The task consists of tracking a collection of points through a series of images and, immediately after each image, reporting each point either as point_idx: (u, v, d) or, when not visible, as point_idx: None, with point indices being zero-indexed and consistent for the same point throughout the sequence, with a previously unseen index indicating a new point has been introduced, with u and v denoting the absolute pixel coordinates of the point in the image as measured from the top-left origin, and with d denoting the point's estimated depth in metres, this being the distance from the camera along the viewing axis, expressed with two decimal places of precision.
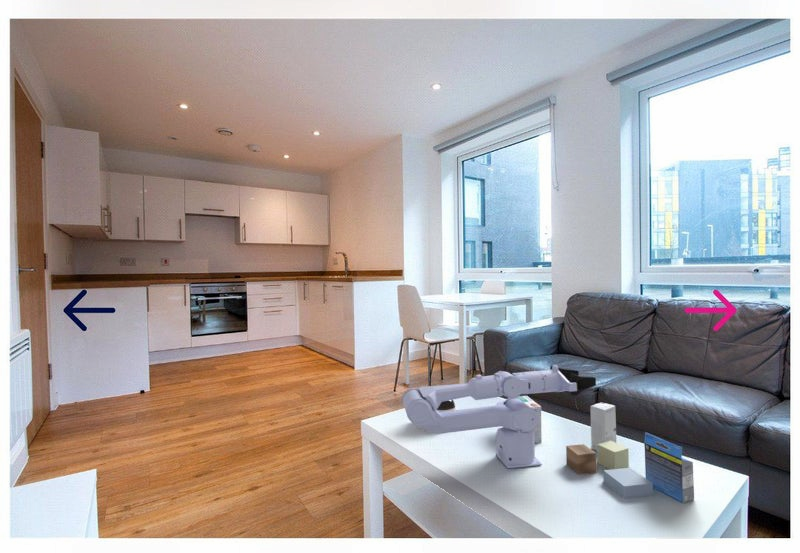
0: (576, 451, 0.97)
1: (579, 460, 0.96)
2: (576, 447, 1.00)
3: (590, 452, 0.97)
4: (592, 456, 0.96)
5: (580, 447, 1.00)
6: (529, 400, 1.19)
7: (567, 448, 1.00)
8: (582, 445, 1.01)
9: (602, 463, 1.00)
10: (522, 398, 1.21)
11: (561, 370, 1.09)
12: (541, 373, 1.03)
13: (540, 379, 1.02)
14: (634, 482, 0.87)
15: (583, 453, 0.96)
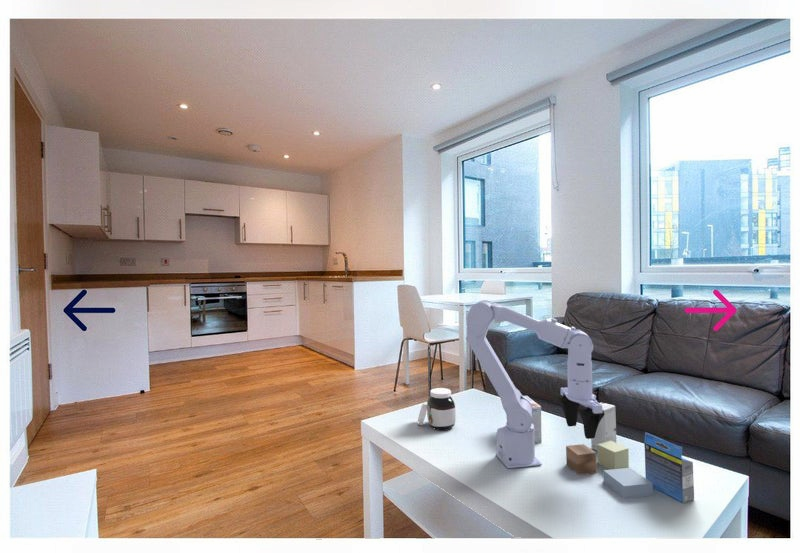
0: (576, 451, 0.97)
1: (579, 460, 0.96)
2: (576, 447, 1.00)
3: (590, 452, 0.97)
4: (592, 456, 0.96)
5: (580, 447, 1.00)
6: (529, 400, 1.19)
7: (567, 448, 1.00)
8: (582, 445, 1.01)
9: (602, 463, 1.00)
10: None
11: (577, 406, 1.02)
12: None
13: (586, 377, 0.96)
14: (633, 482, 0.87)
15: (583, 453, 0.96)
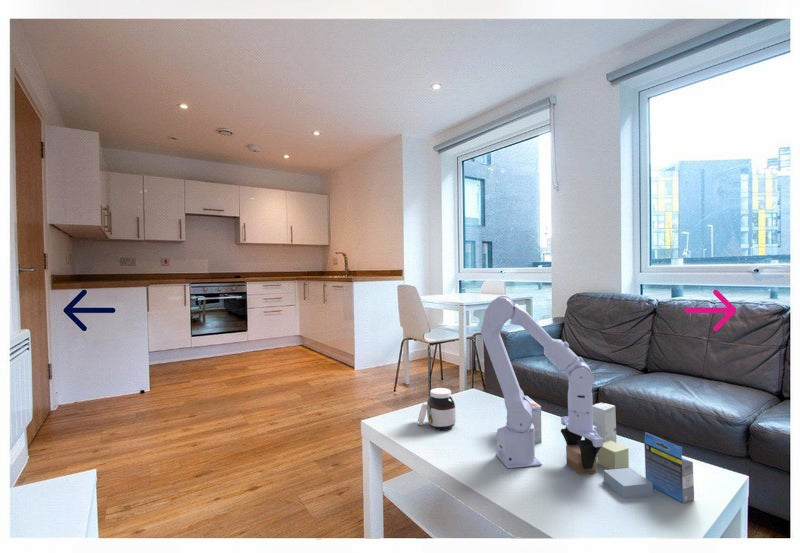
0: (576, 451, 0.97)
1: (579, 460, 0.96)
2: (576, 446, 1.00)
3: None
4: None
5: None
6: (529, 400, 1.19)
7: (567, 448, 1.00)
8: None
9: (602, 463, 1.00)
10: None
11: (579, 438, 1.01)
12: None
13: (587, 409, 0.96)
14: (633, 482, 0.87)
15: None
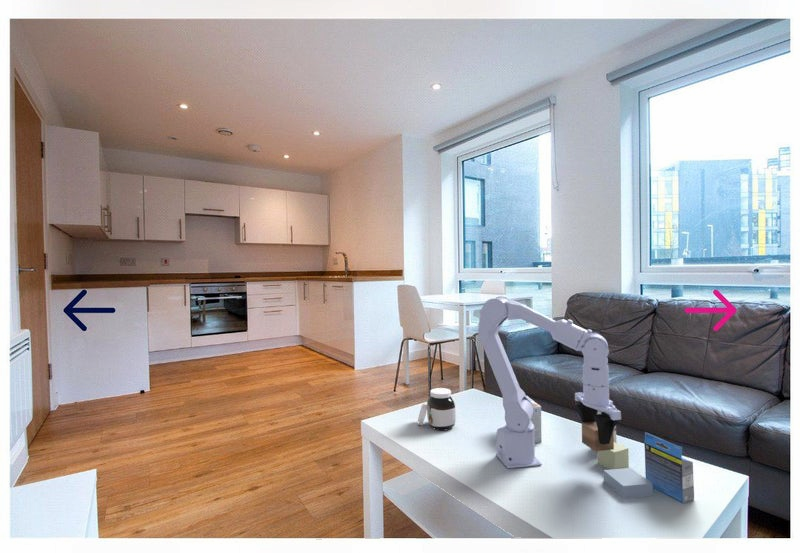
0: (592, 427, 0.94)
1: (596, 436, 0.92)
2: (592, 423, 0.96)
3: None
4: None
5: None
6: None
7: (583, 425, 0.97)
8: None
9: (602, 463, 1.00)
10: None
11: (595, 413, 0.98)
12: None
13: (602, 383, 0.92)
14: (633, 482, 0.87)
15: None
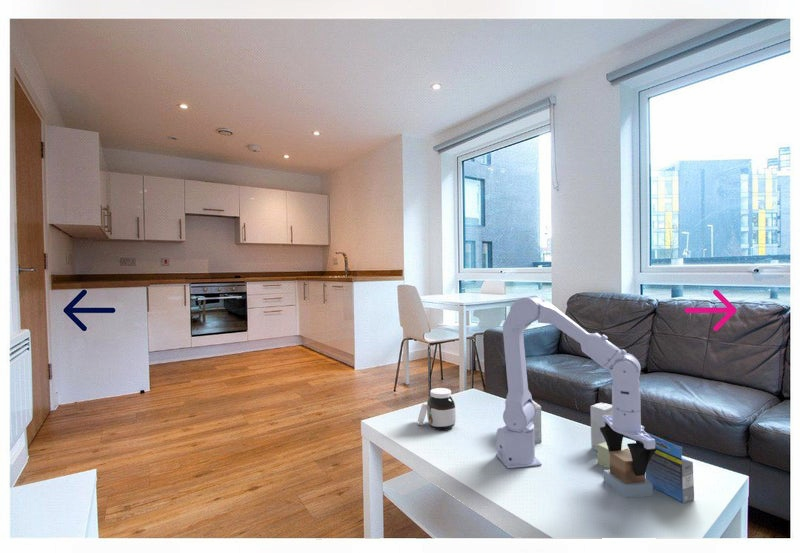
0: (622, 457, 0.88)
1: (626, 467, 0.86)
2: (621, 453, 0.90)
3: None
4: None
5: (625, 452, 0.90)
6: None
7: (611, 454, 0.91)
8: (627, 451, 0.91)
9: (602, 463, 1.00)
10: None
11: (621, 437, 0.93)
12: None
13: (632, 408, 0.86)
14: None
15: (631, 460, 0.87)
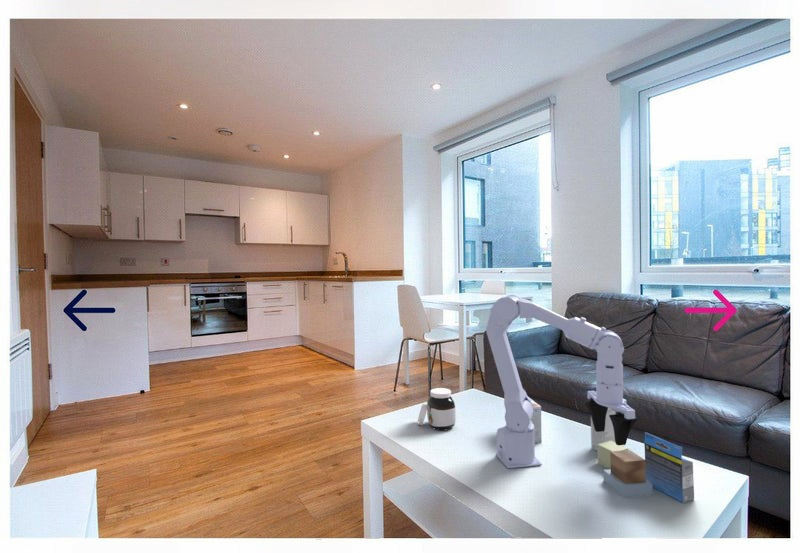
0: (622, 458, 0.88)
1: (626, 468, 0.86)
2: (622, 453, 0.90)
3: (638, 459, 0.87)
4: (641, 463, 0.87)
5: (626, 453, 0.90)
6: None
7: (611, 454, 0.91)
8: (628, 451, 0.91)
9: (602, 463, 1.00)
10: None
11: (605, 411, 0.98)
12: None
13: (616, 381, 0.91)
14: None
15: (631, 460, 0.87)
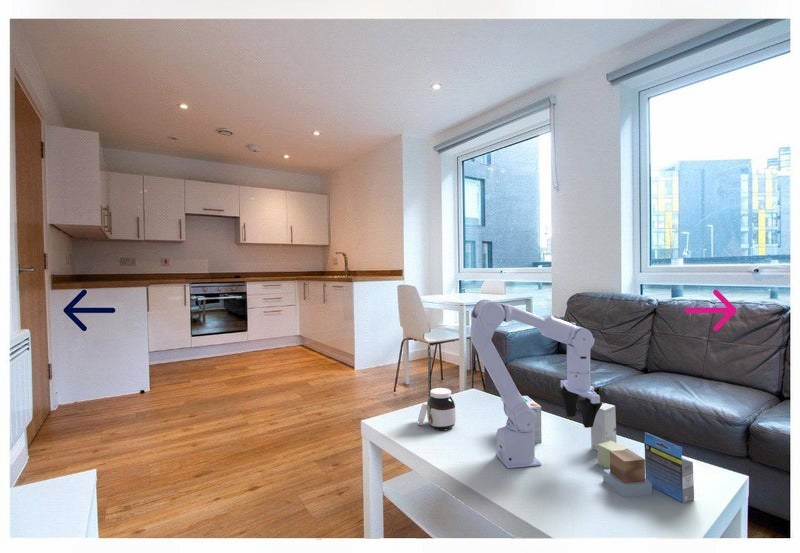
0: (622, 457, 0.88)
1: (626, 467, 0.87)
2: (621, 452, 0.91)
3: (638, 458, 0.88)
4: (640, 463, 0.87)
5: (625, 452, 0.91)
6: (529, 400, 1.19)
7: (611, 454, 0.91)
8: (628, 450, 0.92)
9: (602, 463, 1.00)
10: None
11: (576, 398, 1.08)
12: None
13: (588, 369, 1.01)
14: None
15: (630, 460, 0.87)
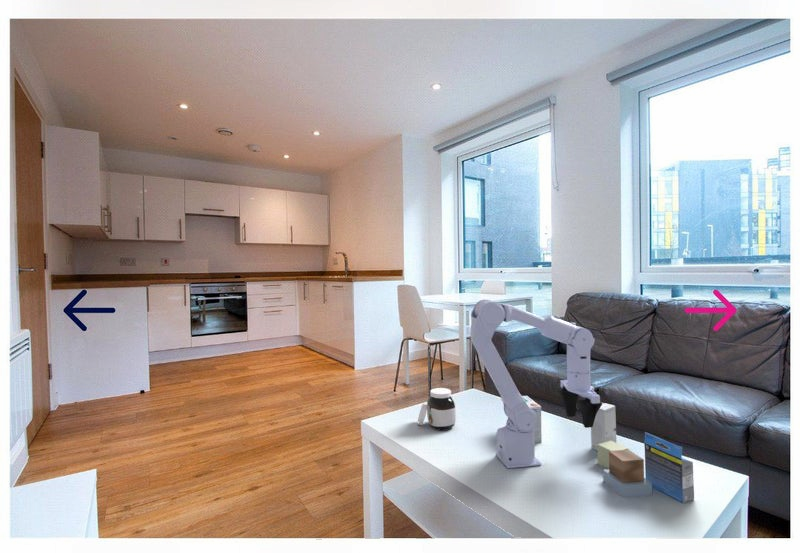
0: (621, 457, 0.88)
1: (624, 467, 0.87)
2: (620, 452, 0.91)
3: (637, 458, 0.88)
4: (639, 463, 0.87)
5: (624, 452, 0.91)
6: (529, 400, 1.19)
7: (610, 453, 0.91)
8: (627, 450, 0.91)
9: (602, 463, 1.00)
10: None
11: (576, 398, 1.08)
12: None
13: (588, 369, 1.01)
14: (632, 482, 0.87)
15: (629, 460, 0.87)
